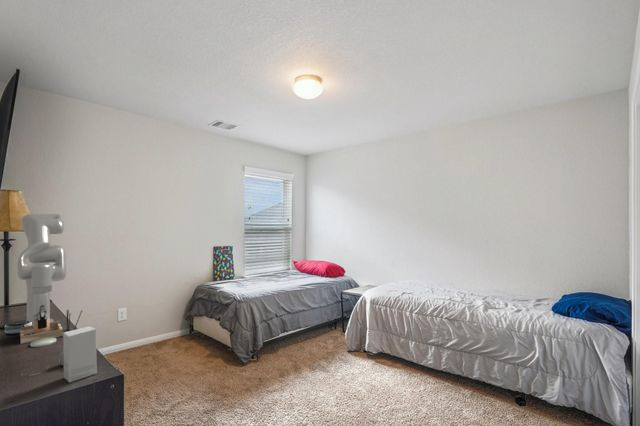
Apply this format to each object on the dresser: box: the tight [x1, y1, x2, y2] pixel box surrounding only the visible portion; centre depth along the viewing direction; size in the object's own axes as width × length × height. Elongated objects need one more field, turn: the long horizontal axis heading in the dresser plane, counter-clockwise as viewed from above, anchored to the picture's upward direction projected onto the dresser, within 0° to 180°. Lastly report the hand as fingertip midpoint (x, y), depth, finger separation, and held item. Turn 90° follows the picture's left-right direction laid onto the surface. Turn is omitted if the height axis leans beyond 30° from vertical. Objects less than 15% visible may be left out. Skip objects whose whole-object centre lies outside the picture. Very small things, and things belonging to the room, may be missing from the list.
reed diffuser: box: [58, 309, 83, 366], centre depth 125 cm, size 10×7×20 cm
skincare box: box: [62, 326, 98, 383], centre depth 114 cm, size 8×7×16 cm
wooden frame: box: [19, 320, 64, 345], centre depth 159 cm, size 16×15×4 cm
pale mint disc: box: [29, 337, 57, 348], centre depth 148 cm, size 9×9×1 cm
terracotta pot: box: [32, 314, 51, 335], centre depth 160 cm, size 6×6×12 cm
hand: (41, 326), depth 159 cm, fingers open, 9 cm apart
